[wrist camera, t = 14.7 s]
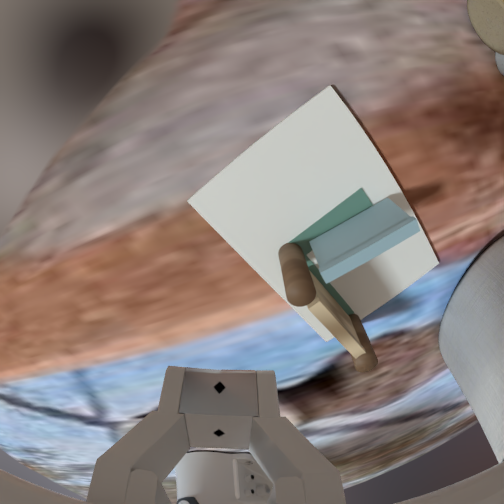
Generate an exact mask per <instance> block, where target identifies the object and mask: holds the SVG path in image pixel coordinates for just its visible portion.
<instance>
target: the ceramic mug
mask: <svg viewBox="0 0 504 504" xmlns="http://www.w3.org/2000/svg"><path fill="white" fill-rule="evenodd" d="M467 10H468V14H469V18H470V21H471V23H472V25H473V27H474V29H475V31H476V33H477V34H478V36H479V37H480V38H481V40H482V41H483V42H484V43H485V44H486V45H487V46H488V47H489V48H491V49H492V50H494V51H495V60H496V63H497V68H498V70H499V71H500V73H501V74H502V75H503V76H504V0H467Z"/></svg>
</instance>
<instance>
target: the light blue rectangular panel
mask: <svg viewBox="0 0 504 504" xmlns="http://www.w3.org/2000/svg"><path fill="white" fill-rule="evenodd" d="M419 231H420V228H419V225H418V222H417V219H416V218H415V217H413V216H412V217H410V216H409V215H408V214H407V213H406V212H404V211H403V210H402V209H401V208H400V207H399V206H397V205H396V204H395V203H394V202H393V201H391V200H390V199H389V198H386V199H384V200H382V201H381V202H379V203H377V204H375V205H374V206H372V207H370V208H368V209H367V210H365V211H363V212H361V213H359V214H358V215H356V216H354V217H352V218H351V219H349V220H347V221H345V222H343V223H342V224H340V225H338V226H336V227H335V228H333V229H331V230H329V231H327V232H326V233H324V234H322V235H320V236H318V237H317V238H315V239H313V240H311V241H309V243H310V245H311V248H312V250H313V252H314V255H315V257H316V260H317V262H318V265H319V267H320V268H319V272H320V274H321V276H322V277H323V279H324V281H325V283H326V284H327V283H329V282H331V281H333V280H335V279H336V278H338V277H340V276H342V275H344V274H346V273H348V272H349V271H351V270H353V269H355V268H357V267H358V266H360V265H362V264H364V263H366V262H367V261H369V260H371V259H373V258H375V257H376V256H378V255H380V254H382V253H383V252H385V251H387V250H389V249H390V248H392V247H394V246H396V245H397V244H399V243H401V242H402V241H404V240H406V239H407V238H409V237H411V236H413V235H414V234H416V233H418V232H419Z"/></svg>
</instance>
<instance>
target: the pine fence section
mask: <svg viewBox="0 0 504 504" xmlns="http://www.w3.org/2000/svg"><path fill="white" fill-rule="evenodd" d="M278 256H279V261H280V266H281V271H282V277H283V282H284V287H285V292H286V297H287V300H288V302H289V303H290V304H291V305H293V306H297V307H302V306H306V305H307V307H308V309H309V311H310V312H311V313H312V314H313V315H314V316H315V317H316V318H317V319H318V320H319V321H320V322H321V323H322V324H323V325H324V326H325V327H326V328H327V329H328V330H329V331H330V332H331V334H332V335H333V336H334V337H335V338H336V339H337V340H338V341H339V342H340V343H341V344H342V345H343V346H344V347H345V348H346V349H347V350H348V351H349V352H350V354H351V357H352V359H353V362H354V365H355V368H356V370H357V371H358V372H368V371H370V370H372V369H373V368H374V367H375V366H376V365H377V363H378V359H377V357H376V355H375V352H374V350H373V348H372V345H371V343H370V341H369V338H368V336H367V334H366V331H365V329H364V327H363V325H362V322H361V320H360V318H359V316H358V315H357V314H350V315H348V314H347V313H346V312H345V311H344V310H343V309H342V307H341V306H340V305H339V304H338V303H337V302H336V300H335V299H334V298H333V297H332V296H331V295H330V293H329V292H328V291H327V290H326V289H325V288H324V286H323V285H322V284H321V283H320V282H319V281H318V279H317V278H316V277H315V276H314V275H313V274H312V273H311V271H310V270H309V268H308V265H307V262H306V259H305V256H304V253H303V250H302V248H301V247H300V246H299V245H298V244H296V243H286V244H284V245H282V246H281V248H280V250H279V252H278Z"/></svg>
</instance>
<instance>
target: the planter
mask: <svg viewBox="0 0 504 504" xmlns="http://www.w3.org/2000/svg"><path fill="white" fill-rule="evenodd" d="M439 348H440V352H441V354H442V357H443V359H444V361H445V363H446V364H447V366H448V368H449V370H450V371H451V373H452V375H453V376H454V378H455V380H456V381H457V383H458V385H459V387H460V388H461V390H462V392H463V394H464V395H465V397H466V399H467V401H468V402H469V404H470V406H471V408H472V410H473V411H474V413H475V415H476V417H477V419H478V421H479V423H480V425H481V427H482V429H483V431H484V432H485V434H486V437H487V439H488V441H489V443H490V445H491V447H492V449H493V451H494V453H495V455H496V458H497V460H498V462H499V463H501V462H503V461H504V236H502V237H501V238H500V239H498V240H497V241H495V242H494V243H493V244H492V245H490V246H489V247H488V248H487V249H486V250H485V251H484V252H483V253H482V254H481V255H480V256H479V257H478V258H477V259H476V261H475V262H474V263H473V264H472V265H471V266H470V268H469V269H468V270H467V272H466V273H465V275H464V276H463V278H462V279H461V281H460V282H459V284H458V285H457V287H456V288H455V290H454V292H453V294H452V296H451V298H450V300H449V302H448V304H447V307H446V309H445V311H444V314H443V317H442V320H441V324H440V329H439Z"/></svg>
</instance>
